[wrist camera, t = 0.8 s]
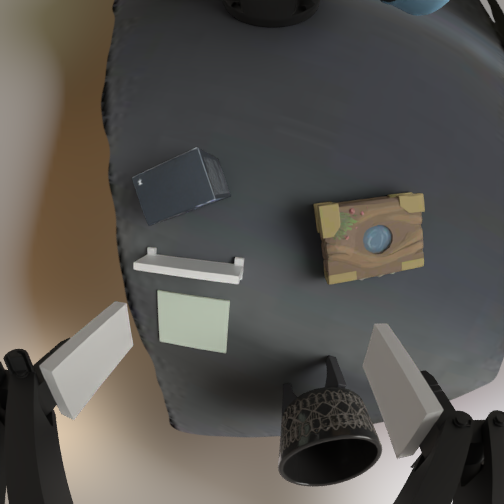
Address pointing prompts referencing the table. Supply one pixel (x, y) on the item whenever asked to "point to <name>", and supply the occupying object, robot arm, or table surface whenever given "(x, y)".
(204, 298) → the pad
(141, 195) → the box
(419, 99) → the table surface
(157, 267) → the handle
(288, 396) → the planter
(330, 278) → the book
